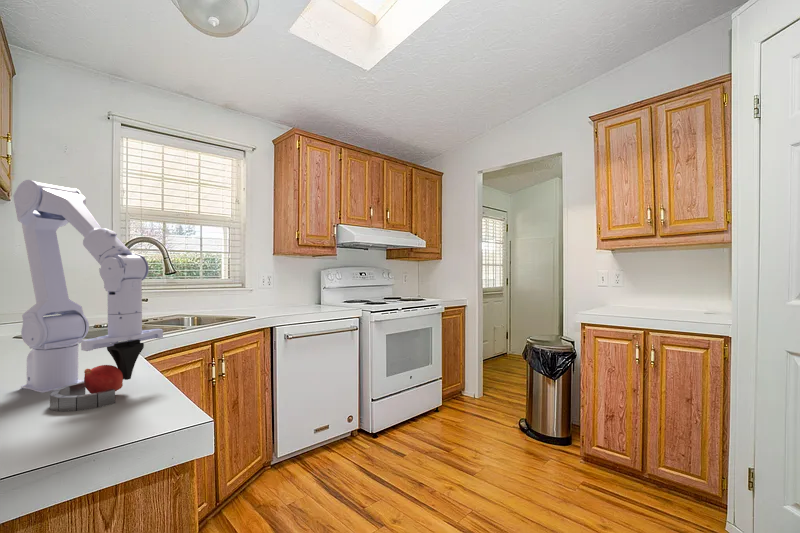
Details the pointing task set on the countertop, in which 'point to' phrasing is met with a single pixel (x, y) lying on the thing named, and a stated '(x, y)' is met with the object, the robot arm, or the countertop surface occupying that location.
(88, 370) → the onion
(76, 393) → the split collar
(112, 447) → the countertop surface
